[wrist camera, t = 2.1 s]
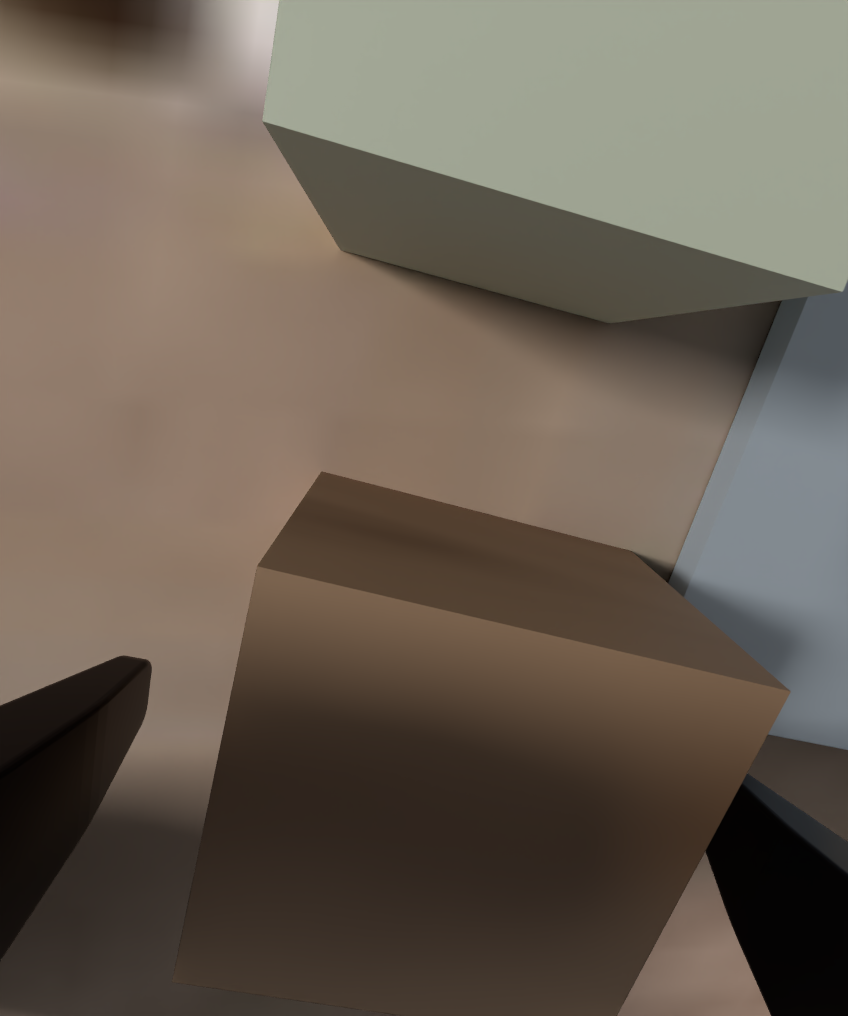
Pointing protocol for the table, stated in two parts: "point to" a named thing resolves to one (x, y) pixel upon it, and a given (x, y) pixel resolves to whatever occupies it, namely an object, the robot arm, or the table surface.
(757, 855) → the robot arm
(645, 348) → the table surface
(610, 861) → the walnut block
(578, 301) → the sage block
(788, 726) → the board
